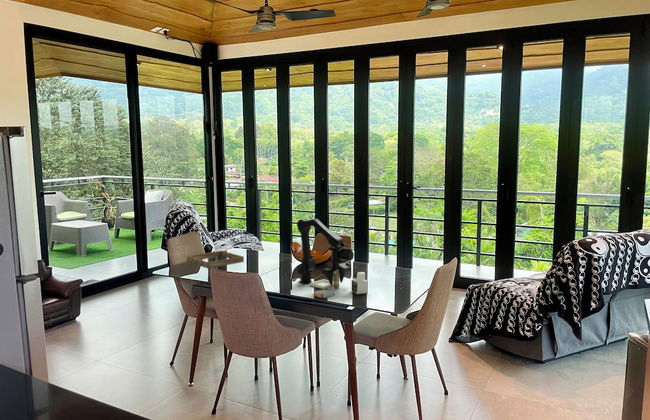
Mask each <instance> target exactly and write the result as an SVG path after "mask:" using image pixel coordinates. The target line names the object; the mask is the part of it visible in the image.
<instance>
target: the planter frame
mask: <svg viewBox="0 0 650 420" xmlns="http://www.w3.org/2000/svg"><path fill="white" fill-rule="evenodd" d="M217 257H223V258H226V259H221V260H213V261H205V260H209V259H213V258H217ZM186 261H187V263H189V264H190V263H191V264H193V265H197V266H198V267H203V268H206V269H212V268H213V269H214V268H219V267H222V266H224V267H225V266H228V265H234V264H240V263H244V262H245V261H244V256H242V255H239V254H235V253H232V252H228V251H224V250H219V251H218V250H217V251H216V250H215V251H211V252H207V253H206V252H205V253H199V254H191V255H187V256H186ZM218 266H219V267H218Z"/></svg>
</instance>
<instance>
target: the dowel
mask: <svg viewBox="0 0 650 420" xmlns="http://www.w3.org/2000/svg"><path fill="white" fill-rule="evenodd" d="M333 275H334V276H333V282H334V287H333V288H335V290H338V289H340V278H339V272H334V273H333Z"/></svg>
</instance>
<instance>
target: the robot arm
mask: <svg viewBox="0 0 650 420" xmlns="http://www.w3.org/2000/svg"><path fill="white" fill-rule="evenodd" d="M296 226H297V230H298V231H299V233H300V236H301V237H300V238H301V239H300V240H301V247H302V248H301V250H302V260H301V264H300V267H299V268H298V269H297V272H298V274H299V275H300V276H299V281H298V283H300V284H304V285H308V284H310V283H311V282H313V281H312V274H311V273H312V272H313V271H314V269H315V267H316V265H317V264H316V259H315V258H313V257H312V252H311V242H310V231H311V227H313V228H315V229H316V231H318V232H319V233H320V234H321V235H323V237H325V239H326V241H327V243H328V244H329V245H330V247H329V248H328V251H331V259H329V262H330V263H331V266H330V267H329V268H328V267H326V268H323V269H322V270H321V274H322V275H324V276H325V277H326V279H327V280H328V281H329V283H330V285H332V284H333V282H334V273H339V284H340V283H341V284H342V283H343V281H344V278H345V276H346V274H347V273H349V272H350V271H351V263H349V262H347V263H345V262H344V260H345V261H346V260H347V261H353V259H354V255H355V253H354V251H353V248H352V247H350V248H348V247H347V246H346V244H345V242H344V239H343V238H342V237H341V236H339V235H338V234H336V233H334V232H332V231H331V230H330V229H329V228H327V226H325V225H324V224H323V223H322V222H321V221H320V219H319V218H315V219H314V218H313V219H308V218H303V219H302V218H301V219H299V220H298V221H297V222H296Z"/></svg>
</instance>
